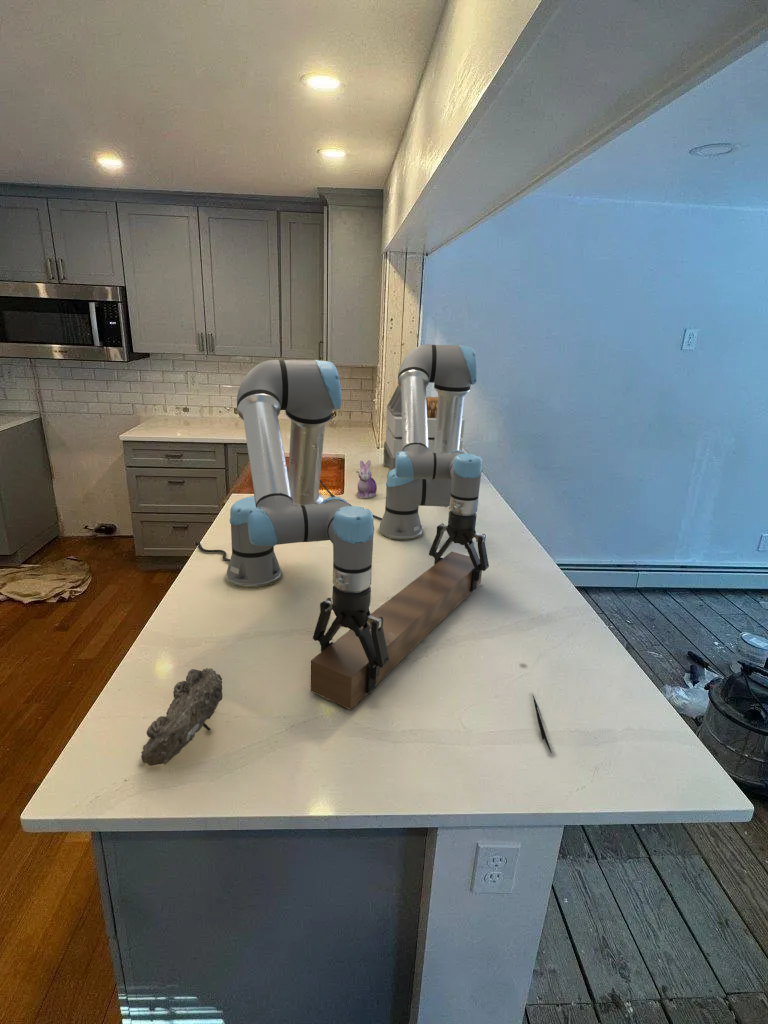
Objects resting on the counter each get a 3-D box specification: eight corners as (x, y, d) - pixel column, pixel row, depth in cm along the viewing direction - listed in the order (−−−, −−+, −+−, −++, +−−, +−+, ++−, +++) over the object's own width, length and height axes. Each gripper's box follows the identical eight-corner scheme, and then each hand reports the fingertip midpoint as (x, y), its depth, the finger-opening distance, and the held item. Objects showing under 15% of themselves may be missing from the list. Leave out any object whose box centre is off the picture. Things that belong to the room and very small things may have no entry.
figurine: (361, 500, 232) (362, 464, 227) (351, 492, 241) (352, 458, 236) (382, 497, 237) (383, 462, 232) (371, 490, 245) (372, 456, 240)
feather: (523, 669, 129) (529, 663, 128) (551, 758, 102) (558, 750, 101) (517, 665, 128) (523, 659, 128) (543, 753, 102) (550, 746, 101)
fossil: (171, 669, 114) (224, 637, 109) (205, 700, 117) (257, 670, 112) (115, 759, 95) (175, 724, 90) (157, 793, 97) (218, 762, 92)
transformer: (382, 463, 289) (386, 382, 275) (445, 464, 293) (451, 384, 279) (390, 482, 257) (394, 392, 243) (460, 483, 261) (468, 394, 247)
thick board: (449, 574, 169) (451, 551, 167) (480, 583, 165) (483, 560, 162) (310, 691, 116) (310, 660, 113) (350, 709, 111) (351, 678, 108)
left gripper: (294, 576, 113) (295, 670, 121) (391, 610, 102) (385, 711, 110) (317, 563, 119) (317, 653, 127) (411, 594, 108) (404, 690, 116)
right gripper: (419, 506, 156) (414, 578, 164) (497, 525, 145) (487, 601, 153) (432, 499, 162) (426, 569, 170) (507, 516, 151) (497, 590, 159)
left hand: (349, 680), depth 118 cm, fingers closed on thick board, 10 cm apart
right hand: (455, 584), depth 161 cm, fingers closed on thick board, 10 cm apart
